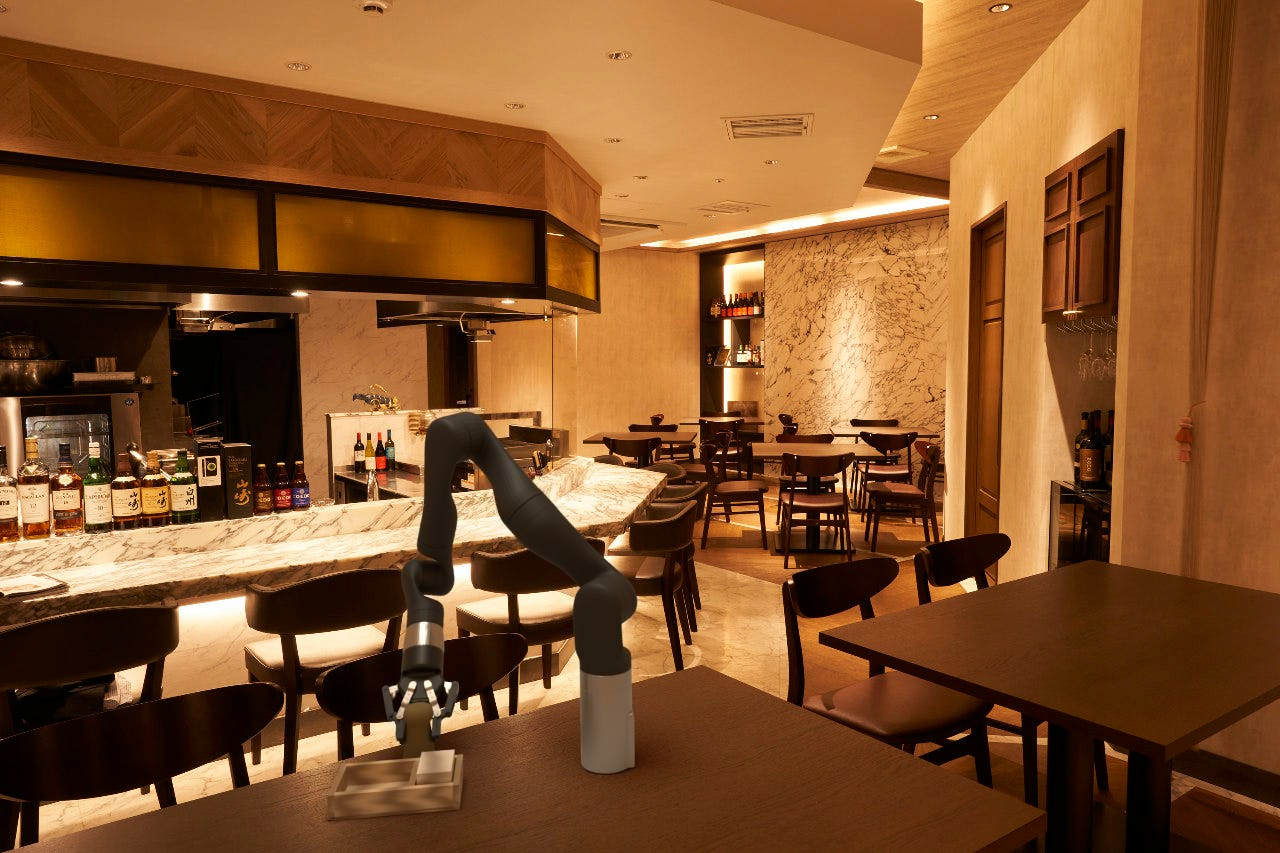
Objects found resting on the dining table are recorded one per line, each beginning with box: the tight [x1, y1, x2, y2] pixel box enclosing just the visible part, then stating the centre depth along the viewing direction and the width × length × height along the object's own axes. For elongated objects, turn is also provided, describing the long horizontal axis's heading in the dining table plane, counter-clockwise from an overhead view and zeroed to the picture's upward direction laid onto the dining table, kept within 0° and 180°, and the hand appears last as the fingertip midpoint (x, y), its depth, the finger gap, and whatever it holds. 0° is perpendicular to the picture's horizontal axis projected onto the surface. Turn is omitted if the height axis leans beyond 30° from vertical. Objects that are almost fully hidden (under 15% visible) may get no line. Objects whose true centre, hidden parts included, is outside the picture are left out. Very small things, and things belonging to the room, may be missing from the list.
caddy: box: [327, 749, 464, 821], centre depth 134 cm, size 20×11×6 cm, turn 99°
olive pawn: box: [402, 702, 436, 759], centre depth 146 cm, size 6×6×11 cm
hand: (417, 741), depth 144 cm, fingers closed on olive pawn, 5 cm apart
